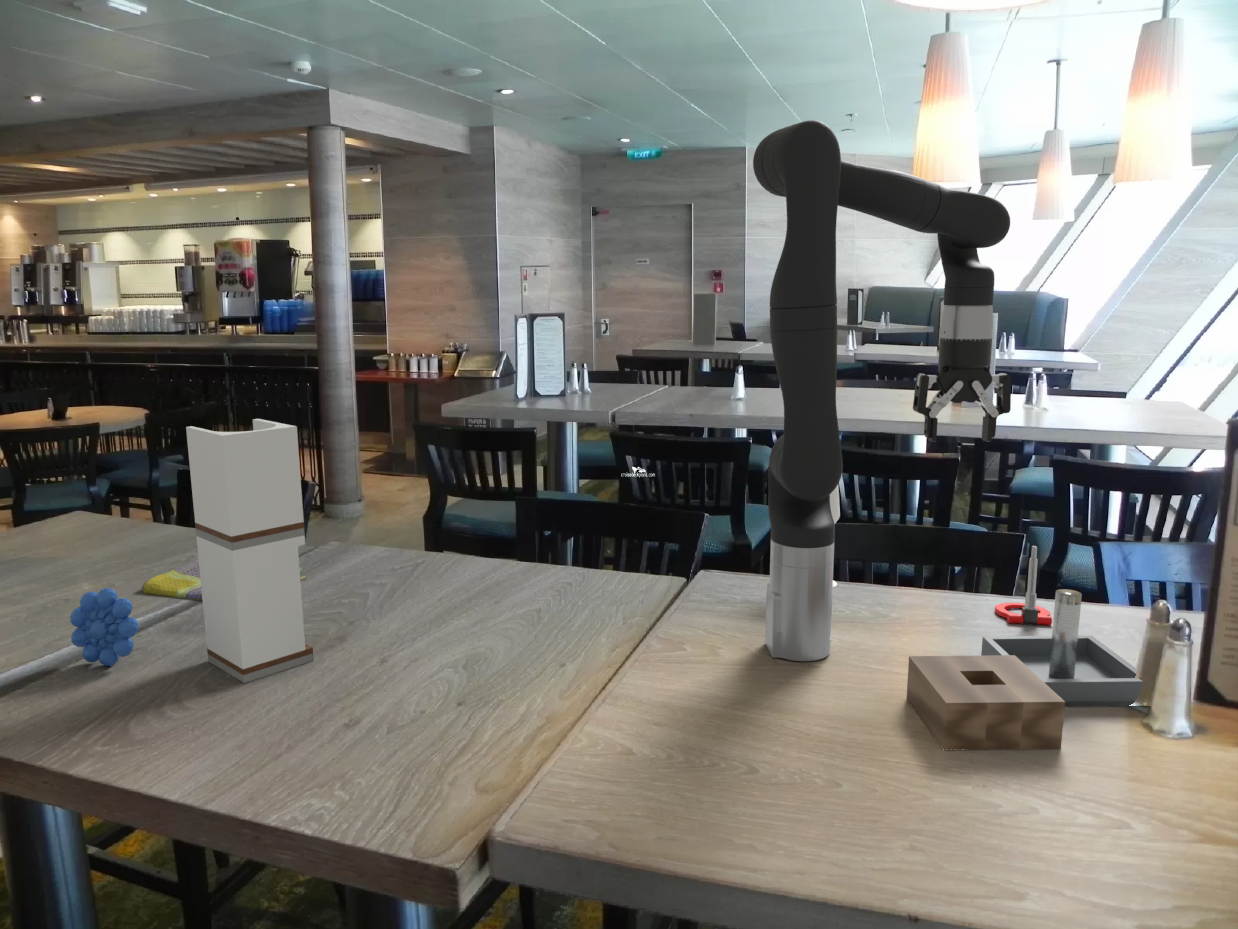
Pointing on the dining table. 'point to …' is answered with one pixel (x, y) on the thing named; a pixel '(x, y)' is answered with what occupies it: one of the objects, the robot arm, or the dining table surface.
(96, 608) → the blue beaded flower
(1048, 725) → the block
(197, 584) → the dish towel
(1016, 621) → the tow hook
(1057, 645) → the pin
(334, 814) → the dining table surface
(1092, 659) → the tray
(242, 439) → the white open tower
